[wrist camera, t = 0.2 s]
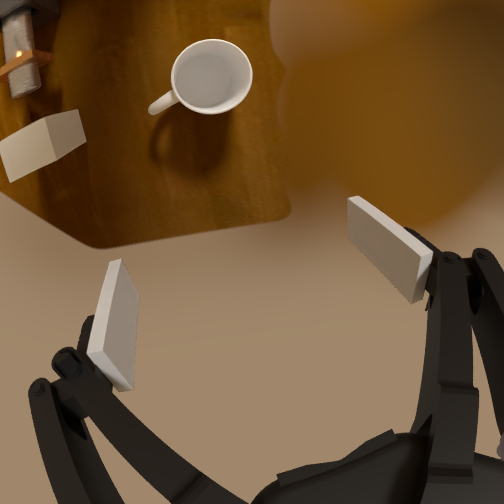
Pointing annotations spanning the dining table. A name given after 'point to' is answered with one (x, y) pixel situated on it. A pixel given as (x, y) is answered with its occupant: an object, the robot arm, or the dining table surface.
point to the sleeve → (32, 10)
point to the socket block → (41, 143)
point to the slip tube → (21, 53)
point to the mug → (208, 78)
